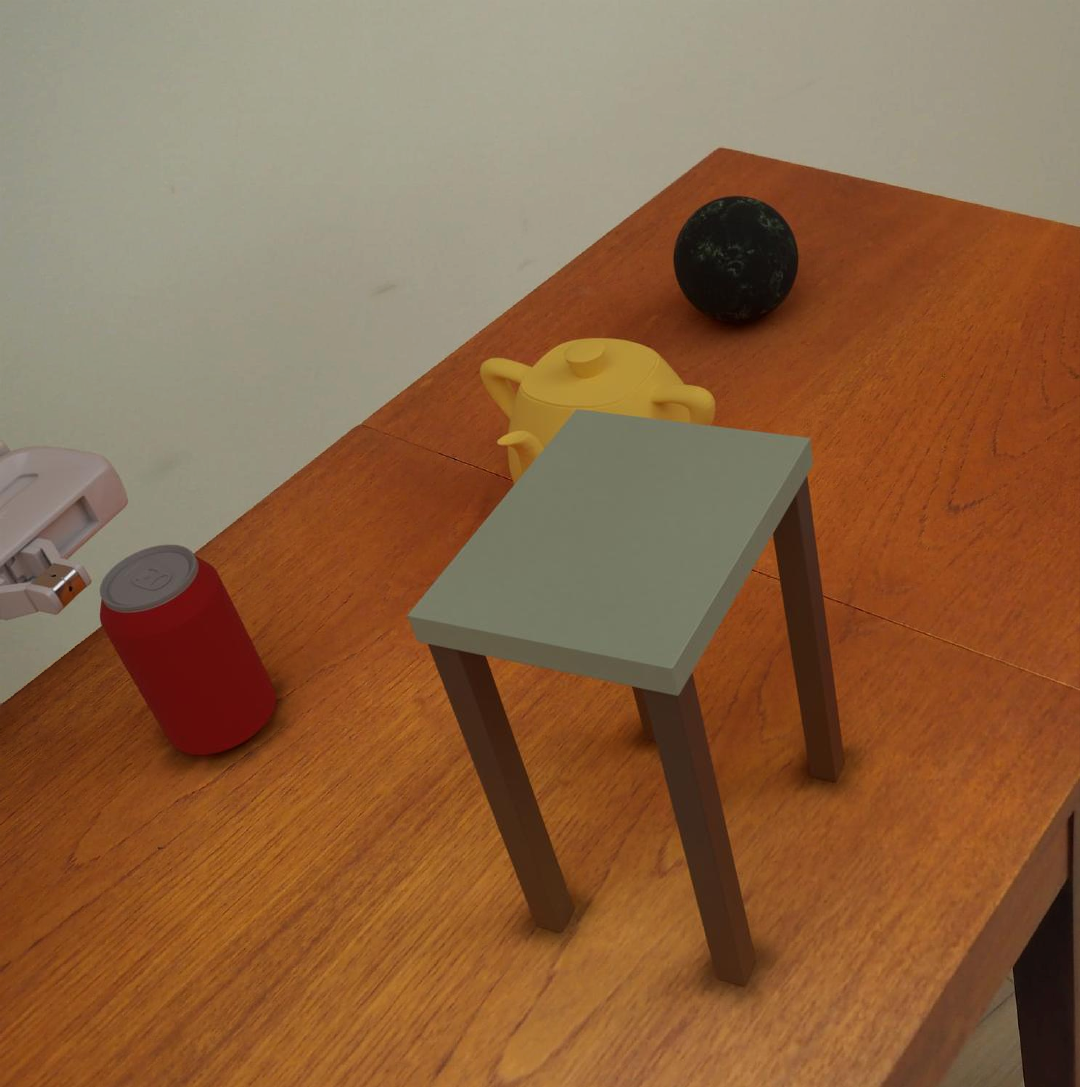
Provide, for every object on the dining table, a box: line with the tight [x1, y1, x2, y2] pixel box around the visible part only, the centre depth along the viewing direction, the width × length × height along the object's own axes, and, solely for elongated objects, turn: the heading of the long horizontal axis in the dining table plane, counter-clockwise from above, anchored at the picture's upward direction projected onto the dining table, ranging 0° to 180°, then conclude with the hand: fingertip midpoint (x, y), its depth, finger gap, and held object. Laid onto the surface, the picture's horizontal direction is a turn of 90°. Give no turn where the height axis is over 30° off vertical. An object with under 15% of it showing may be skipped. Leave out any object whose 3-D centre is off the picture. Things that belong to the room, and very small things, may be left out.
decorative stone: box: [672, 195, 799, 325], centre depth 110 cm, size 10×10×10 cm
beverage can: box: [99, 544, 277, 756], centre depth 80 cm, size 7×7×12 cm
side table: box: [407, 409, 846, 988], centre depth 65 cm, size 15×12×22 cm
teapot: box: [479, 337, 716, 486], centre depth 93 cm, size 14×14×12 cm
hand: (71, 589), depth 81 cm, fingers closed
